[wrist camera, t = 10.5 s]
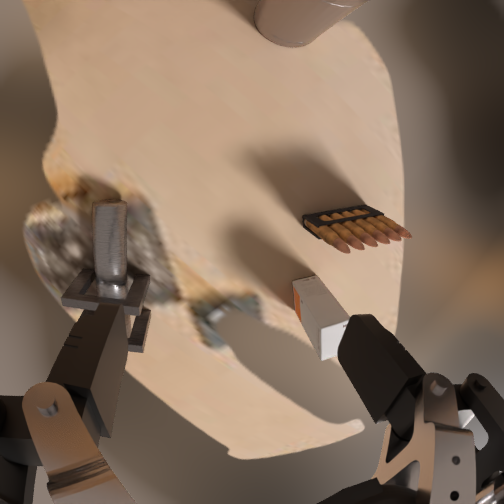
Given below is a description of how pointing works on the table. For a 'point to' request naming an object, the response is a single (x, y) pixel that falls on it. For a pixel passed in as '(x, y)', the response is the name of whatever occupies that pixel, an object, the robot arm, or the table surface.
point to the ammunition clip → (353, 227)
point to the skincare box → (319, 315)
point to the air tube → (111, 250)
